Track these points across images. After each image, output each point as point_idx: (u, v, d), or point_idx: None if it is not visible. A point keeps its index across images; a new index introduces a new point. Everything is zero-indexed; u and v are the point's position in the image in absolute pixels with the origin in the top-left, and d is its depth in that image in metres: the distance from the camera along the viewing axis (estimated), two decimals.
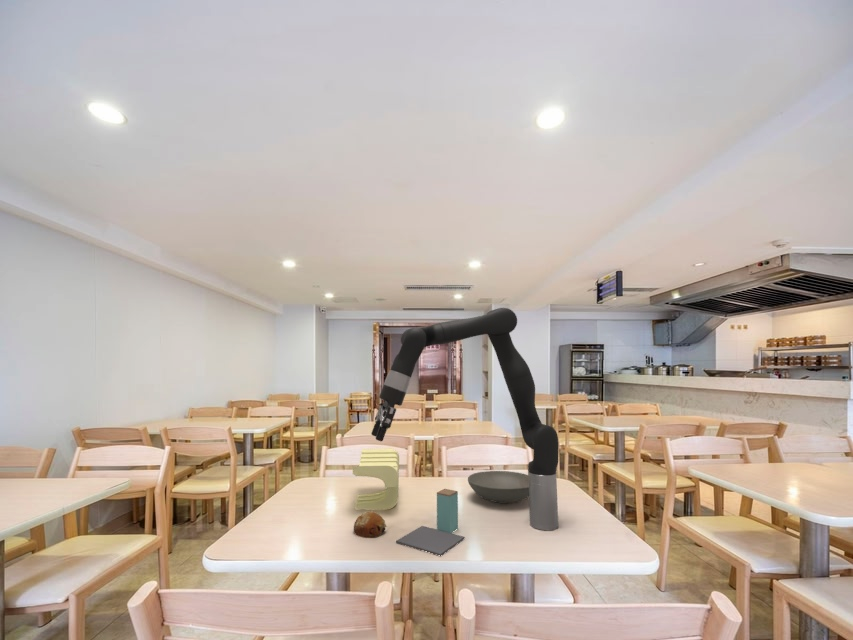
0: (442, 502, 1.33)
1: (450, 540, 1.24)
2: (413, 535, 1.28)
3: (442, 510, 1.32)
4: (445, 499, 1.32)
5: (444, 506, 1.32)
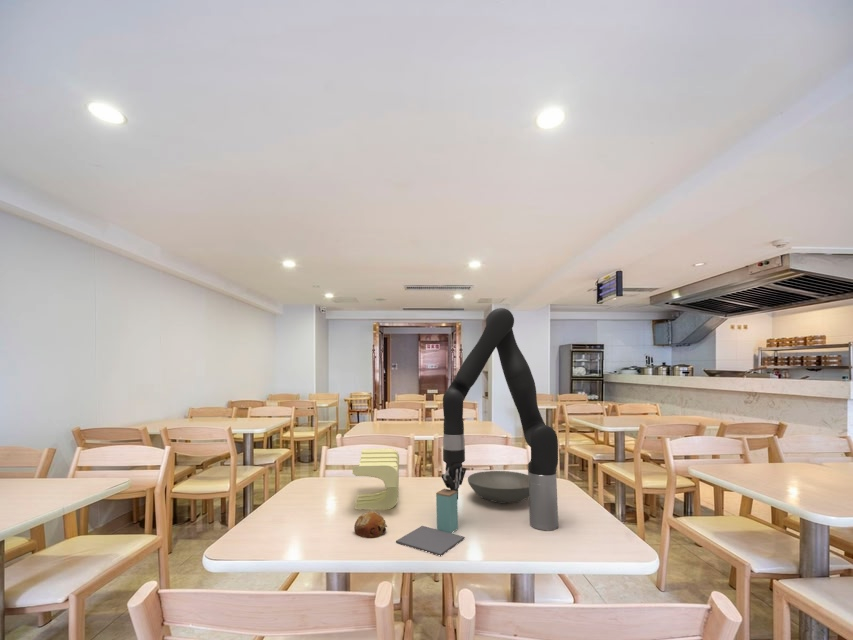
0: (442, 502, 1.32)
1: (450, 540, 1.24)
2: (413, 535, 1.28)
3: (442, 510, 1.32)
4: (444, 499, 1.32)
5: (444, 506, 1.32)
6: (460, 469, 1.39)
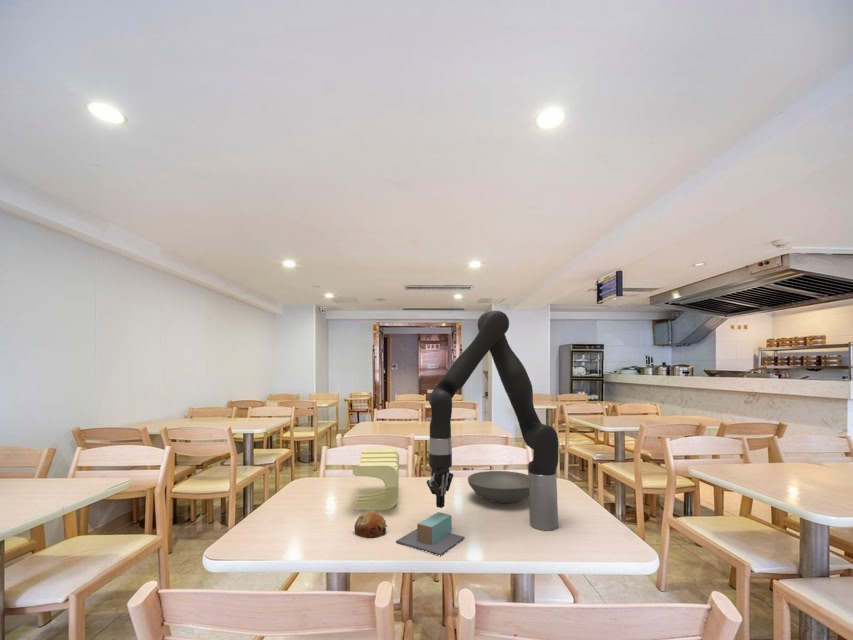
0: None
1: (450, 540, 1.24)
2: (413, 535, 1.28)
3: None
4: None
5: None
6: (447, 475, 1.32)
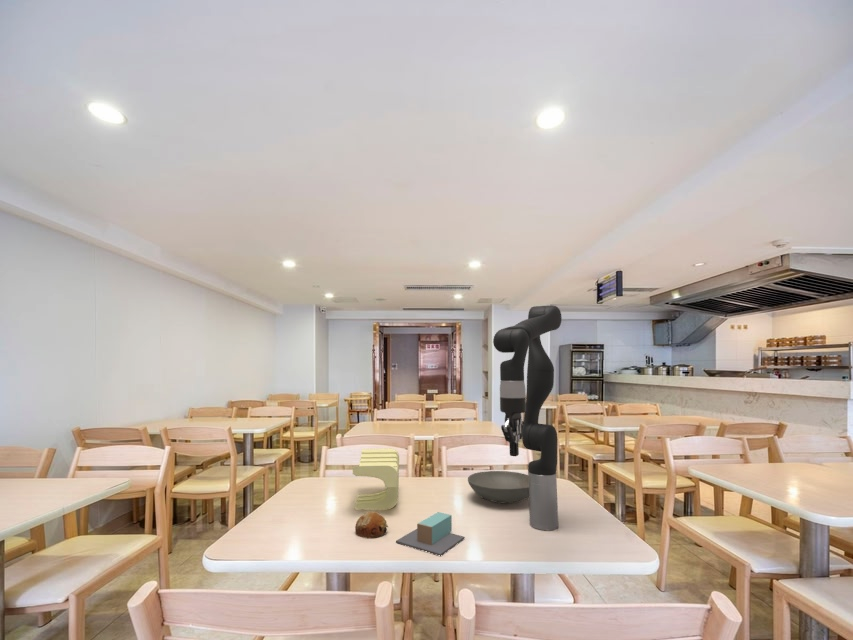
0: None
1: (450, 540, 1.24)
2: (413, 535, 1.28)
3: None
4: None
5: None
6: (520, 421, 1.21)
